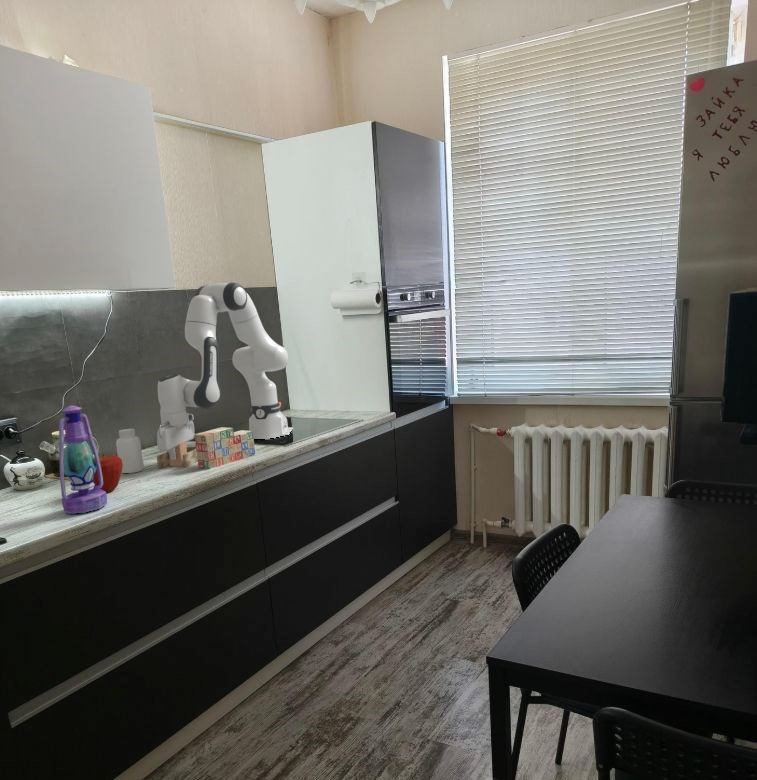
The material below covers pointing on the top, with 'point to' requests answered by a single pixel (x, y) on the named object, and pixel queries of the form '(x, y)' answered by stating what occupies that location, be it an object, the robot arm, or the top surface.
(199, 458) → the stack of blocks
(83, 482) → the lantern
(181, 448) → the terracotta block
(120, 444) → the pill bottle
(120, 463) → the apple
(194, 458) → the oak u-shaped frame
